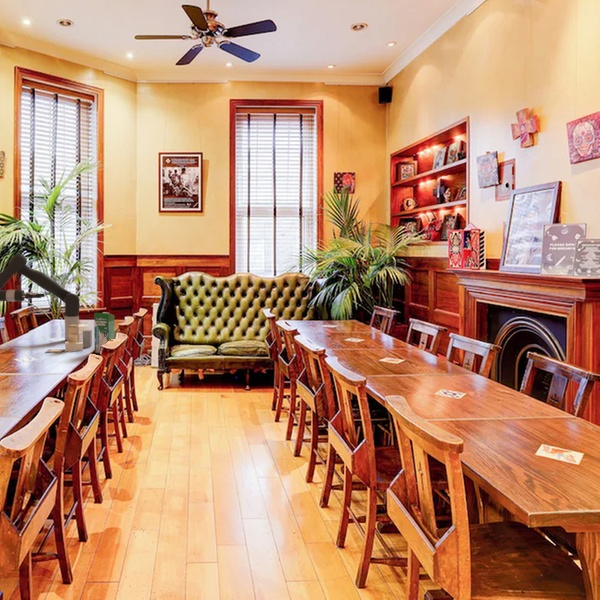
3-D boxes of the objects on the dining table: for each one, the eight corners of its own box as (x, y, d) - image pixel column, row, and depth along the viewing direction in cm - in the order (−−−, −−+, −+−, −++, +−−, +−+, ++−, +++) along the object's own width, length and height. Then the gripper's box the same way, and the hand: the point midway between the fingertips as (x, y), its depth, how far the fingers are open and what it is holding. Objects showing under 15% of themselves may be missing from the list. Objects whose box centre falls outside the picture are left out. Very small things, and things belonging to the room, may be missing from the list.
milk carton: (114, 351, 348) (114, 311, 346) (108, 353, 339) (108, 313, 337) (101, 350, 349) (100, 311, 347) (94, 352, 340) (94, 312, 338)
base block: (65, 349, 352) (65, 341, 351) (82, 348, 356) (82, 341, 356) (65, 352, 343) (65, 344, 342) (83, 351, 347) (83, 343, 346)
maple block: (71, 341, 351) (71, 324, 350) (79, 341, 351) (78, 324, 350) (68, 343, 346) (68, 325, 345) (76, 343, 346) (75, 325, 345)
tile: (49, 350, 345) (49, 349, 345) (64, 350, 347) (64, 349, 347) (45, 352, 336) (45, 351, 336) (60, 352, 338) (60, 351, 338)
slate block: (84, 346, 363) (84, 330, 362) (92, 346, 364) (91, 329, 363) (82, 347, 358) (82, 330, 357) (90, 347, 359) (90, 330, 358)
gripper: (11, 290, 342) (39, 290, 345) (18, 289, 356) (45, 289, 359) (12, 302, 343) (39, 302, 346) (18, 300, 357) (45, 300, 360)
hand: (42, 295), depth 353 cm, fingers open, 8 cm apart
